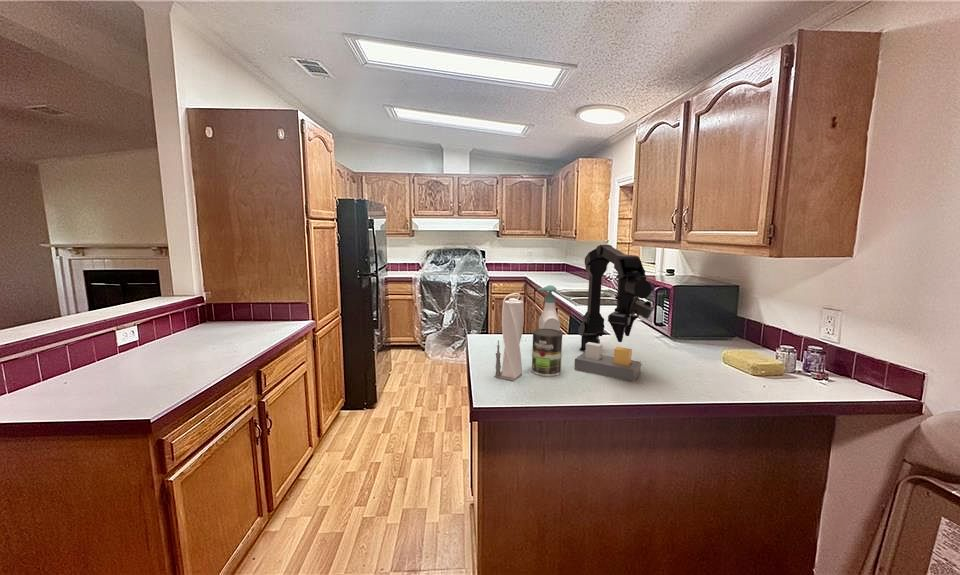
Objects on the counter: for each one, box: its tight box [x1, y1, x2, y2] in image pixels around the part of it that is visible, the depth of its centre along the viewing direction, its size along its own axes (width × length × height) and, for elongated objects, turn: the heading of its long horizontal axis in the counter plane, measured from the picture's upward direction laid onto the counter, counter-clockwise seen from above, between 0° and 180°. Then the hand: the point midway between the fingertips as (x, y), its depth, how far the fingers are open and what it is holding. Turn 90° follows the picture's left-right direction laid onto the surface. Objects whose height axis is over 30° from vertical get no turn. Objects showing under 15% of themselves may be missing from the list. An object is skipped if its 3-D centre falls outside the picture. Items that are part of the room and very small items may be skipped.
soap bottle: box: [537, 285, 561, 331], centre depth 156 cm, size 11×8×27 cm
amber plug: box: [613, 346, 633, 366], centre depth 134 cm, size 5×3×8 cm, turn 55°
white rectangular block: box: [584, 342, 603, 361], centre depth 140 cm, size 5×3×8 cm, turn 55°
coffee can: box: [531, 328, 564, 377], centre depth 137 cm, size 10×10×14 cm
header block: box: [574, 351, 642, 383], centre depth 137 cm, size 20×10×4 cm, turn 55°
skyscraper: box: [493, 292, 525, 382], centre depth 131 cm, size 8×8×28 cm
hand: (623, 338), depth 133 cm, fingers open, 9 cm apart
